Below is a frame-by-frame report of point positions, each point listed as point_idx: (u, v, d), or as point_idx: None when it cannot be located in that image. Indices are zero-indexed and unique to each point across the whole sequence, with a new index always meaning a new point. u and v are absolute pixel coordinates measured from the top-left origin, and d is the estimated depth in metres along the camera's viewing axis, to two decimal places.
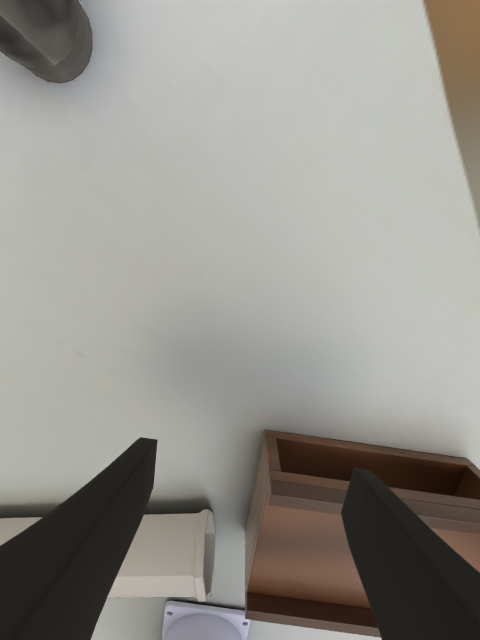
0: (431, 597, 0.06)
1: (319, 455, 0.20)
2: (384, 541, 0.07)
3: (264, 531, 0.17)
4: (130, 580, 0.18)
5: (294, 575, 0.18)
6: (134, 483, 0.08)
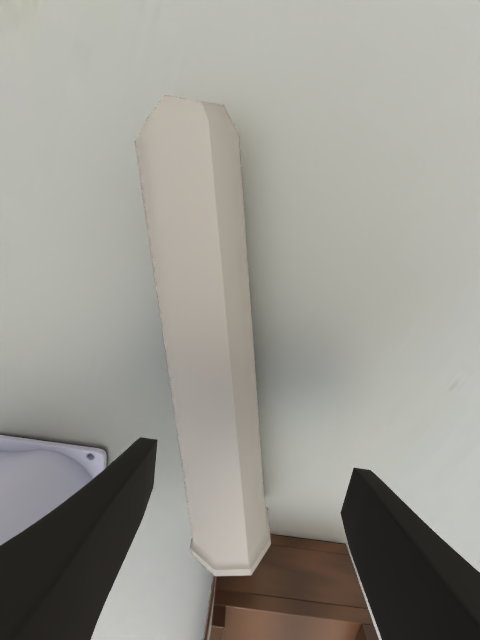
0: (431, 597, 0.06)
1: None
2: (384, 541, 0.07)
3: (311, 620, 0.17)
4: (234, 499, 0.15)
5: None
6: (133, 483, 0.08)
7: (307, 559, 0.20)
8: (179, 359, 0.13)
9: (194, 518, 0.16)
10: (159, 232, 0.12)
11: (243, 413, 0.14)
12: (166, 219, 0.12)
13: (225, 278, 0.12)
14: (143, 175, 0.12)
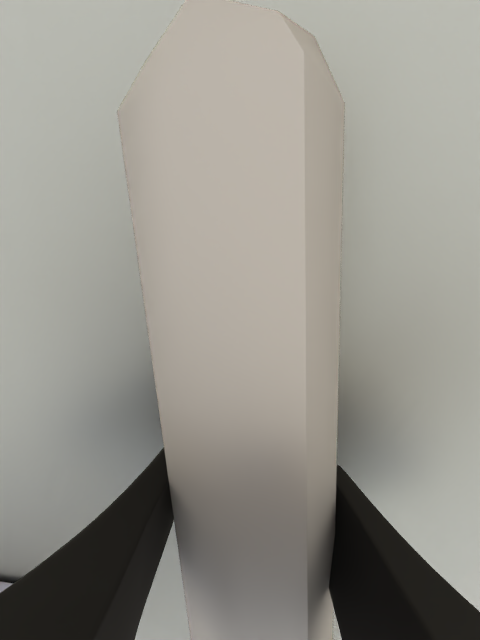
0: (381, 590, 0.06)
1: None
2: (345, 536, 0.07)
3: None
4: None
5: None
6: (169, 488, 0.08)
7: None
8: (201, 544, 0.07)
9: None
10: (167, 309, 0.06)
11: (317, 631, 0.08)
12: (185, 288, 0.05)
13: (309, 413, 0.06)
14: (135, 186, 0.05)
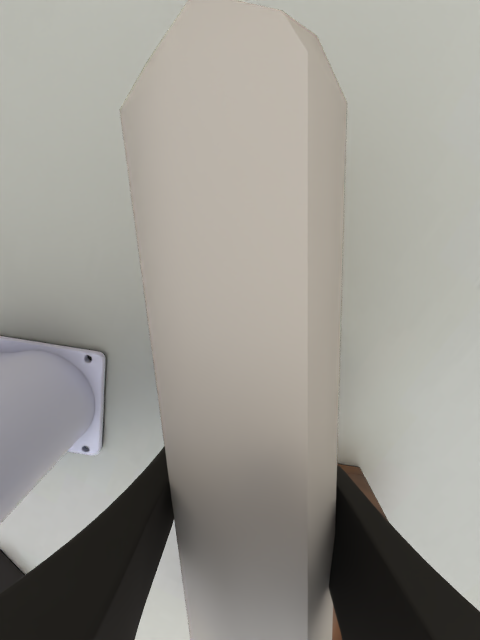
0: (381, 590, 0.06)
1: None
2: (345, 536, 0.07)
3: None
4: None
5: None
6: (169, 488, 0.08)
7: None
8: (201, 543, 0.07)
9: None
10: (169, 308, 0.06)
11: (317, 631, 0.08)
12: (187, 287, 0.05)
13: (310, 412, 0.06)
14: (137, 185, 0.05)
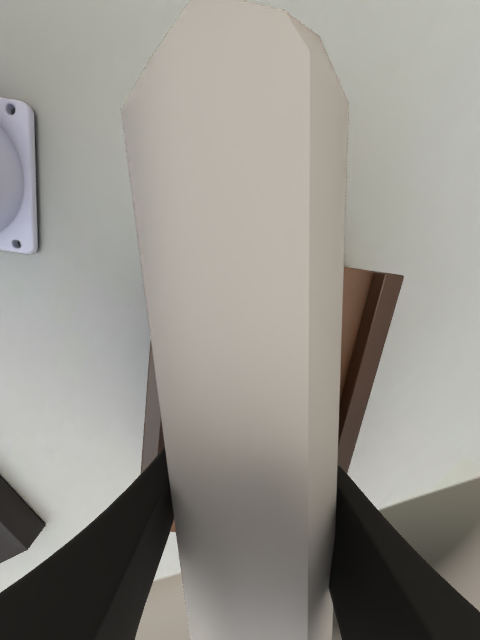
0: (381, 590, 0.06)
1: None
2: (345, 536, 0.07)
3: None
4: None
5: None
6: (169, 488, 0.08)
7: None
8: (202, 544, 0.07)
9: None
10: (170, 308, 0.06)
11: (317, 632, 0.08)
12: (188, 286, 0.05)
13: (311, 412, 0.06)
14: (138, 185, 0.05)
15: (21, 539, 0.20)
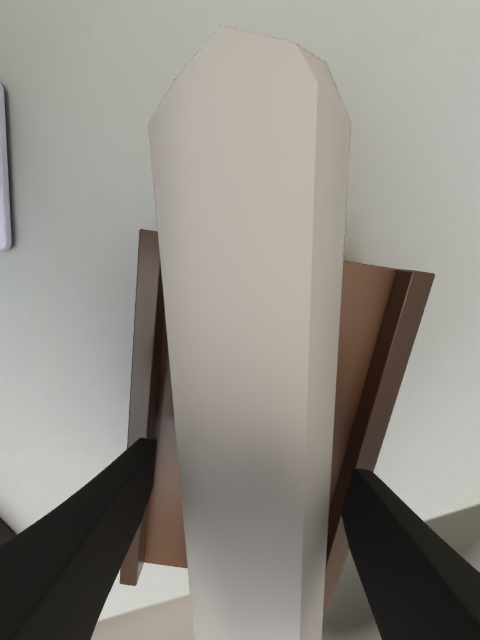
0: (431, 597, 0.06)
1: None
2: (384, 541, 0.07)
3: None
4: None
5: None
6: (133, 483, 0.08)
7: None
8: (207, 517, 0.08)
9: None
10: (186, 302, 0.06)
11: (309, 602, 0.08)
12: (204, 282, 0.06)
13: (310, 398, 0.06)
14: (161, 190, 0.06)
15: None
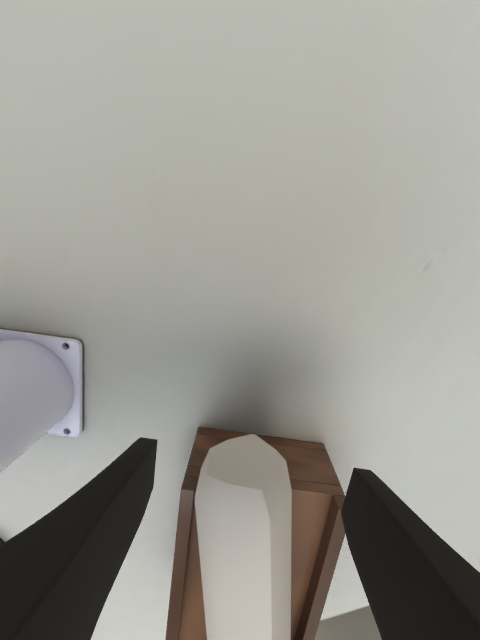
0: (431, 597, 0.06)
1: None
2: (384, 541, 0.07)
3: None
4: None
5: None
6: (134, 483, 0.08)
7: (283, 451, 0.20)
8: None
9: None
10: (212, 575, 0.13)
11: None
12: (222, 576, 0.12)
13: (273, 622, 0.13)
14: (200, 526, 0.13)
15: None
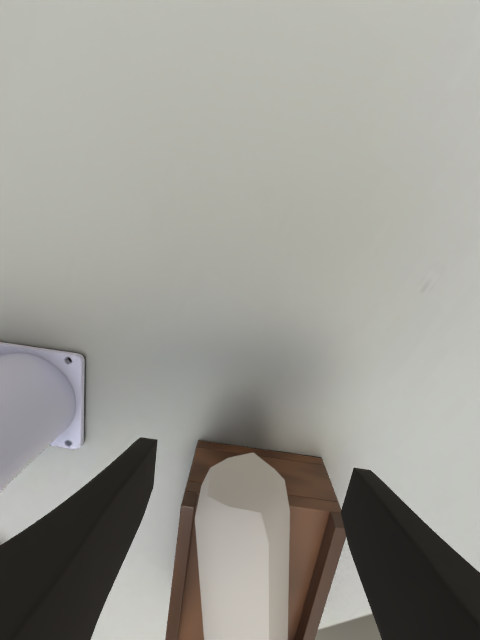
0: (431, 597, 0.06)
1: None
2: (384, 541, 0.07)
3: None
4: None
5: None
6: (134, 483, 0.08)
7: (282, 465, 0.20)
8: None
9: None
10: (211, 593, 0.13)
11: None
12: (220, 595, 0.13)
13: None
14: (200, 545, 0.13)
15: None
